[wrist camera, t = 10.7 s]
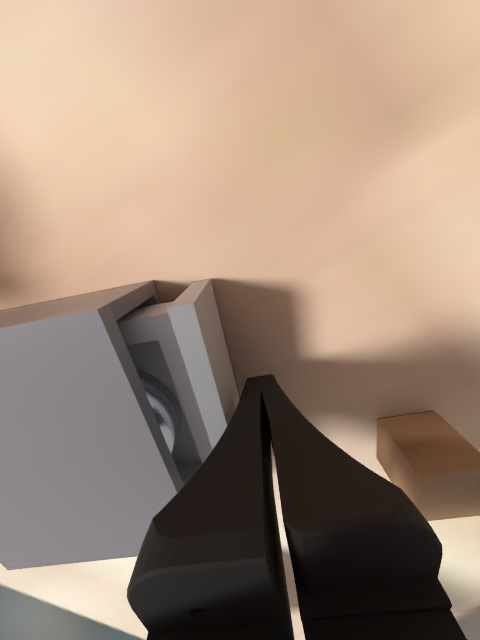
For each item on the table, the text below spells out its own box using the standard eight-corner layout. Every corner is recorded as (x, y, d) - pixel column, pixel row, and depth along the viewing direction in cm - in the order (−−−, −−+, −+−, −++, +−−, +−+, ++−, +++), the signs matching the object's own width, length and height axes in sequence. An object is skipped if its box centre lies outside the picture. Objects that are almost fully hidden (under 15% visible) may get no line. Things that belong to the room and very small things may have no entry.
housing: (212, 461, 15) (201, 549, 11) (69, 480, 15) (7, 570, 11) (153, 280, 11) (97, 309, 6) (-39, 318, 11) (-198, 366, 7)
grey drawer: (252, 454, 14) (256, 532, 10) (102, 474, 15) (56, 554, 11) (210, 278, 10) (192, 303, 7) (11, 317, 11) (-107, 359, 7)
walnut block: (428, 450, 14) (484, 514, 11) (376, 457, 15) (416, 522, 11) (434, 410, 13) (497, 469, 10) (377, 418, 13) (421, 478, 10)
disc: (191, 448, 12) (184, 477, 11) (93, 456, 13) (73, 486, 11) (167, 359, 10) (154, 381, 9) (53, 371, 11) (22, 394, 9)
